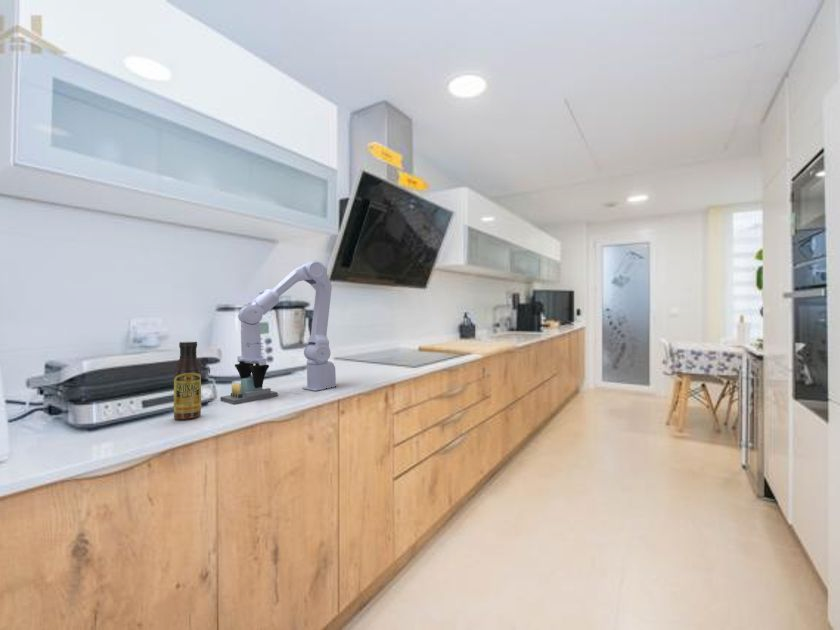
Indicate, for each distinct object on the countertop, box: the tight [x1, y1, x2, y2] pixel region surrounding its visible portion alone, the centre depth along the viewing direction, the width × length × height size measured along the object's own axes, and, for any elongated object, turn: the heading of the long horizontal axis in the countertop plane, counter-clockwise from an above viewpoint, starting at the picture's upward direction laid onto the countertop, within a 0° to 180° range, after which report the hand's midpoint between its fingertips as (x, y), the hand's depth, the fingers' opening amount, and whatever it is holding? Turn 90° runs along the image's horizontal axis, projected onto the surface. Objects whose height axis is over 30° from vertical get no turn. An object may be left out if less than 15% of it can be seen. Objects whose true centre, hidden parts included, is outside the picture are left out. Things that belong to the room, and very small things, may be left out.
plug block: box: [240, 375, 264, 395], centre depth 126 cm, size 5×4×6 cm
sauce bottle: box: [173, 340, 202, 421], centre depth 104 cm, size 6×6×20 cm
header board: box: [219, 382, 279, 406], centre depth 126 cm, size 14×9×5 cm, turn 141°
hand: (252, 386), depth 126 cm, fingers open, 7 cm apart
